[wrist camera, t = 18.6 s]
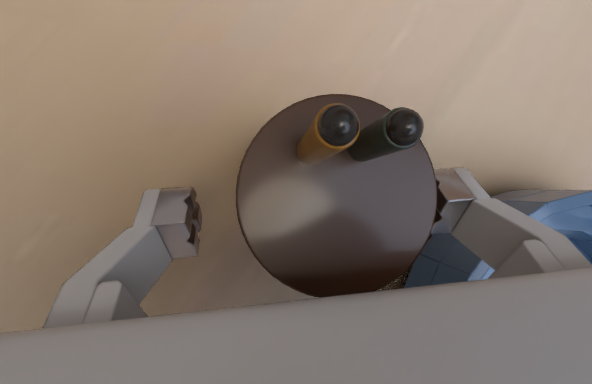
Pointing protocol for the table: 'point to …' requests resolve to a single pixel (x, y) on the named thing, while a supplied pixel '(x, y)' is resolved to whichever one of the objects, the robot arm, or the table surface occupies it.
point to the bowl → (535, 203)
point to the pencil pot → (337, 195)
